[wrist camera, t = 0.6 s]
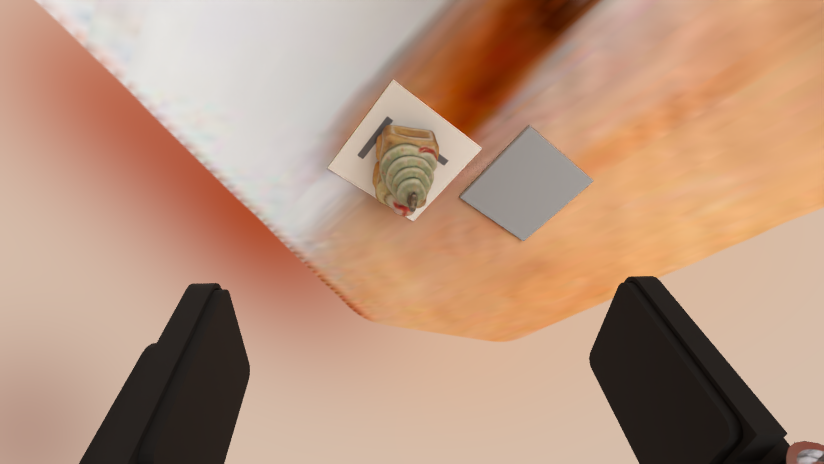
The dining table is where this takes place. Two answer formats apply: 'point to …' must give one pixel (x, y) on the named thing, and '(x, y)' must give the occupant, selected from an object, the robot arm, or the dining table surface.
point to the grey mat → (526, 185)
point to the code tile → (408, 112)
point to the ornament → (404, 167)
